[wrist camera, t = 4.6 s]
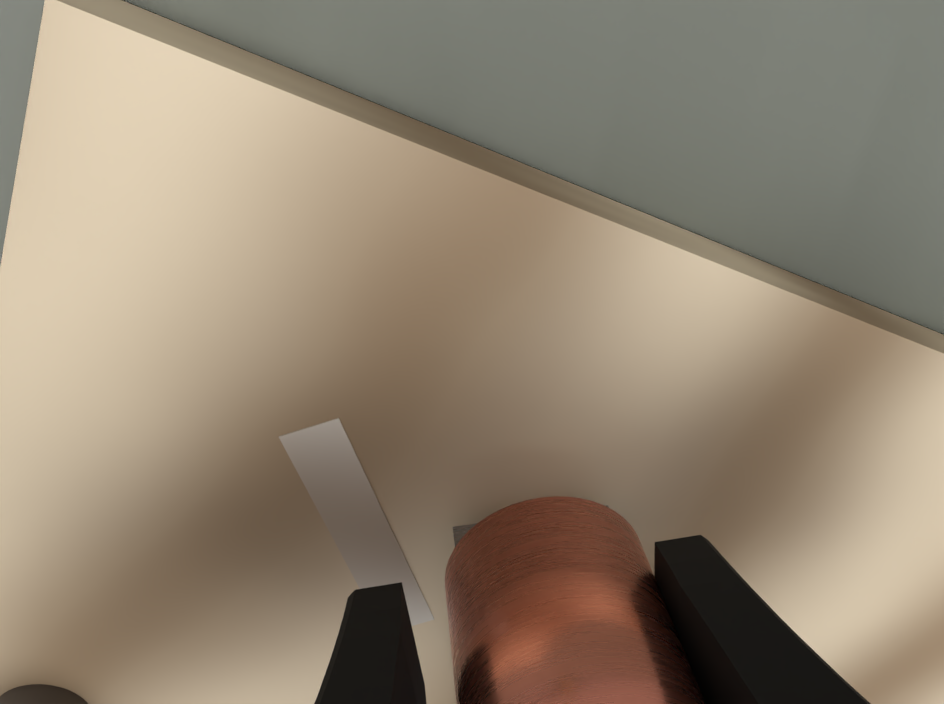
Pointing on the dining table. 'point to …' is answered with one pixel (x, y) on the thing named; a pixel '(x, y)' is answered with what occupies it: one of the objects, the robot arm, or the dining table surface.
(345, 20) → the dining table surface
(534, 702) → the lever
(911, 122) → the dining table surface
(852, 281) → the dining table surface
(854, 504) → the board
